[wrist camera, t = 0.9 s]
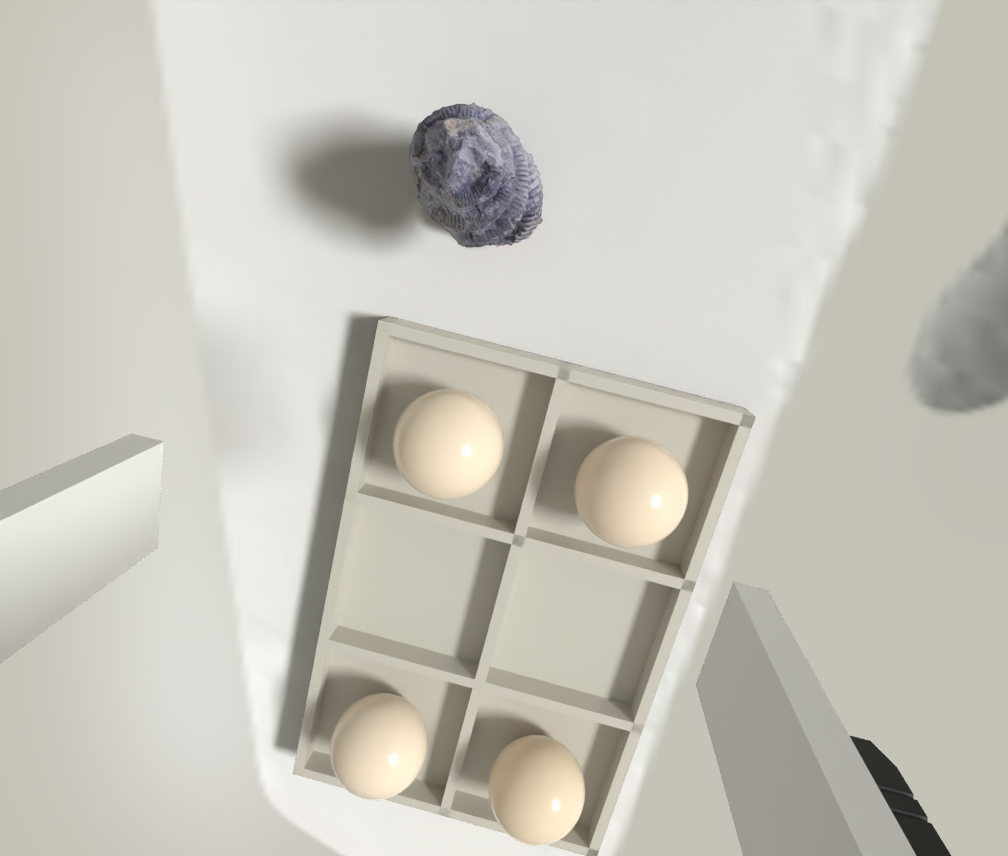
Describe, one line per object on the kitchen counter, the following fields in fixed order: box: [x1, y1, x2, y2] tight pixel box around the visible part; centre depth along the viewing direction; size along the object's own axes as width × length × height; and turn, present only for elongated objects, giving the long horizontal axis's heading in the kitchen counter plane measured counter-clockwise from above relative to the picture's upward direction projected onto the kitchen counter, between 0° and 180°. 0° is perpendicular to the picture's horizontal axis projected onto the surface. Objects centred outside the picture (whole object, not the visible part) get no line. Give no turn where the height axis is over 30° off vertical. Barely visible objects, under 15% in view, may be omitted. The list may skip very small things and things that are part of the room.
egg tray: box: [293, 317, 755, 856], centre depth 36 cm, size 28×19×2 cm
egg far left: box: [330, 693, 428, 800], centre depth 36 cm, size 5×5×5 cm
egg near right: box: [574, 436, 688, 548], centre depth 31 cm, size 5×5×5 cm
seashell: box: [409, 103, 543, 247], centre depth 27 cm, size 5×5×10 cm
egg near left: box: [393, 389, 504, 500], centre depth 31 cm, size 5×5×5 cm
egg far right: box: [488, 735, 585, 846], centre depth 36 cm, size 5×5×5 cm
